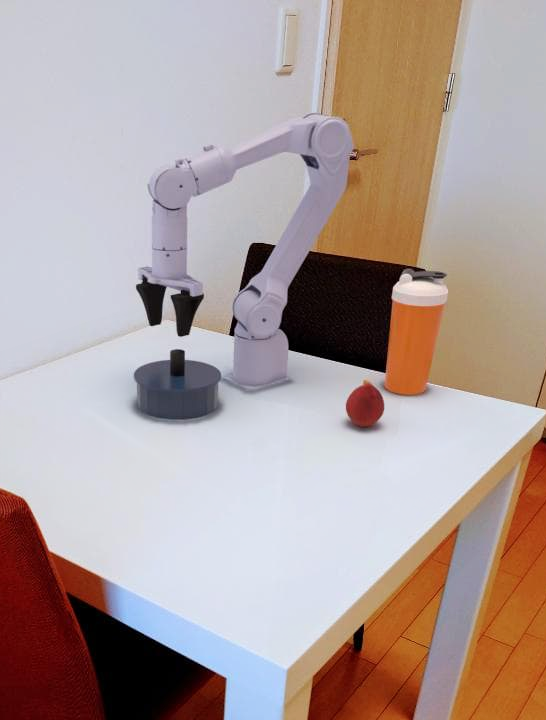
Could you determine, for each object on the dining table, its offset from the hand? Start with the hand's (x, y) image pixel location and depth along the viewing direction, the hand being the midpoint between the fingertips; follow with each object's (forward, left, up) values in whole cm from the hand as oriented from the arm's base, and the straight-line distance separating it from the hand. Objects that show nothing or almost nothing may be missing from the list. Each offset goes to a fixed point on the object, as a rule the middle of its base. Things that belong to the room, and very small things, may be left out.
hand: (169, 330), depth 138 cm
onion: (-15, +32, -11) cm, 37 cm away
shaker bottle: (-34, +24, -11) cm, 43 cm away
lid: (+4, +8, -5) cm, 10 cm away
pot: (+4, +8, -10) cm, 14 cm away
